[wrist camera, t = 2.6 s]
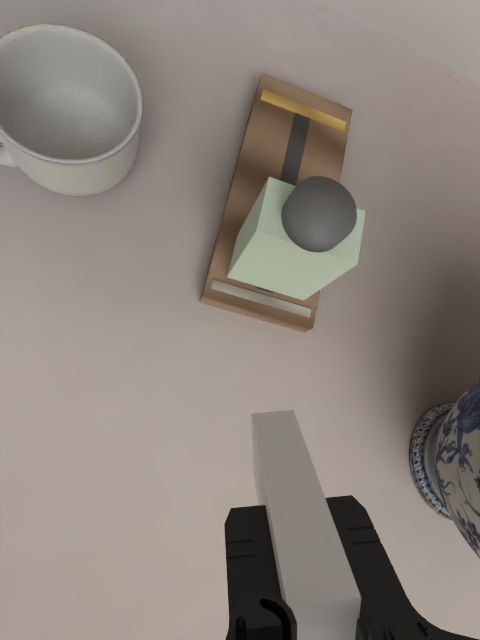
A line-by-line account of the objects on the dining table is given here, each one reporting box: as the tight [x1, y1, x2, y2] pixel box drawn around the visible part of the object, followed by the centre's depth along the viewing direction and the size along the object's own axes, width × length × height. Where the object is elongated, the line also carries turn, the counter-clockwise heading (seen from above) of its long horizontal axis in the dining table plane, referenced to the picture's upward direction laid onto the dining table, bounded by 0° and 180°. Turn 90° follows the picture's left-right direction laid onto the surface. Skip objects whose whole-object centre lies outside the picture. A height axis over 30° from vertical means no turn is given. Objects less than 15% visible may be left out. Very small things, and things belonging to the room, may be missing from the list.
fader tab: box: [227, 176, 366, 301], centre depth 29 cm, size 4×7×11 cm, turn 77°
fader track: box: [200, 73, 352, 332], centre depth 37 cm, size 24×10×2 cm, turn 167°
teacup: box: [0, 24, 143, 196], centre depth 30 cm, size 14×11×8 cm
